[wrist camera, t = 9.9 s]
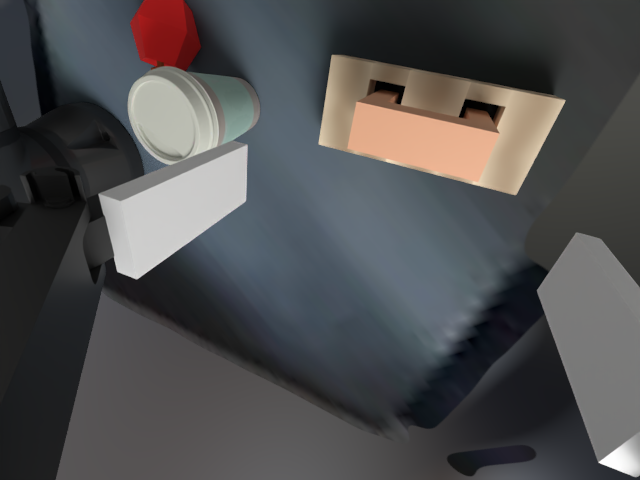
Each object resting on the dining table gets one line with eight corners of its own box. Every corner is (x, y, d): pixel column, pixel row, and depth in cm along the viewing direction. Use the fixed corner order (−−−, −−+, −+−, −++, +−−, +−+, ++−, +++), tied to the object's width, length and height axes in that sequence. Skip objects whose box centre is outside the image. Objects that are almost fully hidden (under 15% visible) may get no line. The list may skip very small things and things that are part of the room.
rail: (329, 137, 36) (318, 144, 33) (342, 54, 31) (331, 54, 29) (510, 182, 32) (515, 195, 29) (553, 95, 28) (565, 100, 25)
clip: (372, 125, 34) (347, 148, 26) (381, 89, 32) (356, 101, 24) (471, 148, 32) (478, 182, 23) (487, 111, 30) (499, 133, 22)
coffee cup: (194, 84, 38) (105, 95, 29) (247, 48, 34) (165, 45, 24) (230, 152, 41) (160, 183, 31) (283, 126, 37) (222, 152, 27)
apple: (112, -38, 29) (103, 55, 31) (183, -22, 29) (171, 72, 31) (155, 1, 36) (146, 77, 38) (213, 15, 36) (202, 90, 38)
